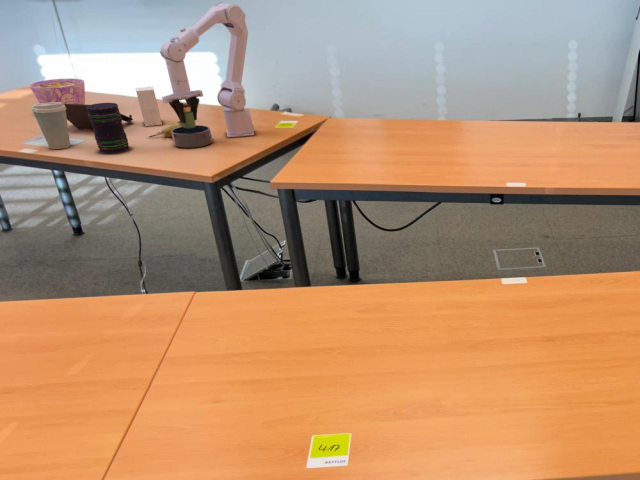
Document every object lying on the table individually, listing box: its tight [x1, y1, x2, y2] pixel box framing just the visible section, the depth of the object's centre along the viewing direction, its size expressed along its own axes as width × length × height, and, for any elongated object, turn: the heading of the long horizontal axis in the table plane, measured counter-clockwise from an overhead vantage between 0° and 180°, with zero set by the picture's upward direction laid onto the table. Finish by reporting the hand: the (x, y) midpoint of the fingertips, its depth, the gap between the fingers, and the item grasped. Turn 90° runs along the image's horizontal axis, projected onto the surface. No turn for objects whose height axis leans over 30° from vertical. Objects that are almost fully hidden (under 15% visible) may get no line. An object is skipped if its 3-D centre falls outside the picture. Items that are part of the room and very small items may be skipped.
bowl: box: [171, 124, 214, 149], centre depth 261 cm, size 13×13×5 cm
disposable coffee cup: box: [30, 102, 71, 150], centre depth 254 cm, size 11×11×15 cm
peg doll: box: [183, 102, 197, 128], centre depth 257 cm, size 4×4×8 cm
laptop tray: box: [64, 104, 134, 131], centre depth 279 cm, size 23×23×9 cm
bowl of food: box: [29, 78, 86, 105], centre depth 300 cm, size 20×20×12 cm
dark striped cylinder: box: [86, 102, 131, 155], centre depth 251 cm, size 10×10×15 cm
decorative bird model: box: [149, 120, 184, 140], centre depth 269 cm, size 4×13×10 cm
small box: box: [135, 86, 163, 127], centre depth 284 cm, size 8×6×13 cm
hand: (188, 121), depth 258 cm, fingers closed on peg doll, 4 cm apart
